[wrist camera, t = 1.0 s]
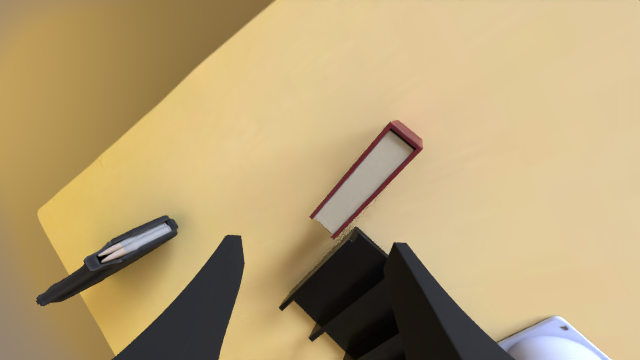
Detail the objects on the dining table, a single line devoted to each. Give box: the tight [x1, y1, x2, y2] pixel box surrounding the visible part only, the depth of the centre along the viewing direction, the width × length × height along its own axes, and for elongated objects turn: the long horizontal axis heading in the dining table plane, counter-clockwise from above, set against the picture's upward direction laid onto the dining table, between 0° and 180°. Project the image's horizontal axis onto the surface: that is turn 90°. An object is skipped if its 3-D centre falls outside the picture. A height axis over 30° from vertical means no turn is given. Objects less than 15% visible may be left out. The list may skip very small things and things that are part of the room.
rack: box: [279, 227, 406, 360], centre depth 27 cm, size 16×14×3 cm
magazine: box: [36, 216, 178, 306], centre depth 38 cm, size 17×3×30 cm
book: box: [310, 120, 423, 239], centre depth 21 cm, size 3×10×6 cm, turn 142°
